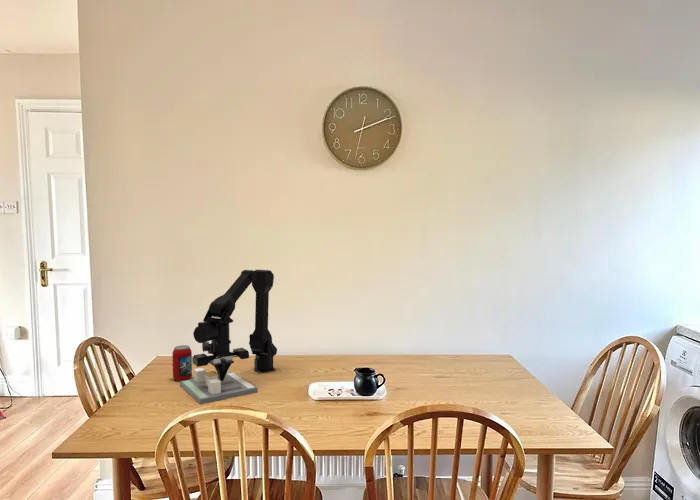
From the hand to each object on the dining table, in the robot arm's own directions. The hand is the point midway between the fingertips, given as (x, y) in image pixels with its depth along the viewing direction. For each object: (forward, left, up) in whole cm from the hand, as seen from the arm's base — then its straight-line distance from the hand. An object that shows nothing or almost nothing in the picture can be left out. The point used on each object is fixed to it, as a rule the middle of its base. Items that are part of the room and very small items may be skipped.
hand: (221, 380), depth 176 cm
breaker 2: (+5, +7, -1) cm, 9 cm away
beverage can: (+8, -18, -3) cm, 20 cm away
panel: (+1, 0, -3) cm, 3 cm away
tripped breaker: (+4, 0, -1) cm, 4 cm away
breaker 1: (+5, -8, -1) cm, 9 cm away
